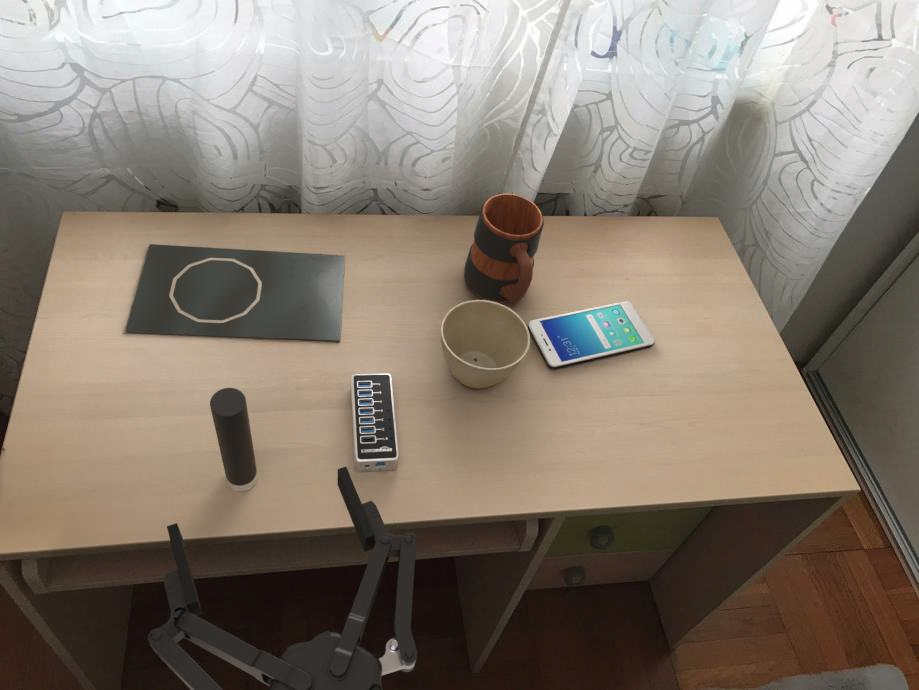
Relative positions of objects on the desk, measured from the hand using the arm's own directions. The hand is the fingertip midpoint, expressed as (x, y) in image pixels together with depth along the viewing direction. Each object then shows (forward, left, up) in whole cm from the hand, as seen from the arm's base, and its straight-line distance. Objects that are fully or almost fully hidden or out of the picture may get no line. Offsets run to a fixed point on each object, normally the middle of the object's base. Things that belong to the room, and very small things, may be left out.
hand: (261, 502), depth 60 cm
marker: (-4, +9, -13) cm, 16 cm away
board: (-7, +34, -13) cm, 37 cm away
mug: (+25, +36, -13) cm, 46 cm away
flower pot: (+21, +23, -13) cm, 34 cm away
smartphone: (+36, +29, -13) cm, 49 cm away
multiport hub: (+9, +15, -13) cm, 22 cm away
